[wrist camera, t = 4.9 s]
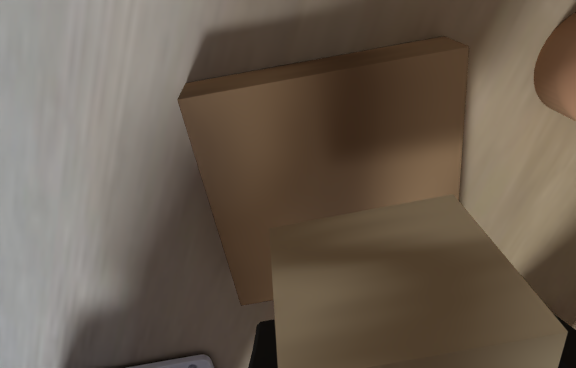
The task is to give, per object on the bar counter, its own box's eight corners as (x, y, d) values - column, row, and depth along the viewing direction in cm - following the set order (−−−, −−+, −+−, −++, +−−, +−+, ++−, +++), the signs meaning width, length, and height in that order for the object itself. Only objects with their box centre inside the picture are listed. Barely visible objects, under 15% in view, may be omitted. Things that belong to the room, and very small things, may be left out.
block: (297, 347, 13) (316, 510, 9) (269, 228, 11) (279, 382, 7) (447, 321, 13) (528, 474, 9) (452, 194, 11) (567, 331, 7)
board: (241, 275, 20) (240, 305, 19) (185, 83, 15) (177, 99, 14) (436, 241, 20) (453, 267, 19) (444, 36, 15) (469, 46, 14)
